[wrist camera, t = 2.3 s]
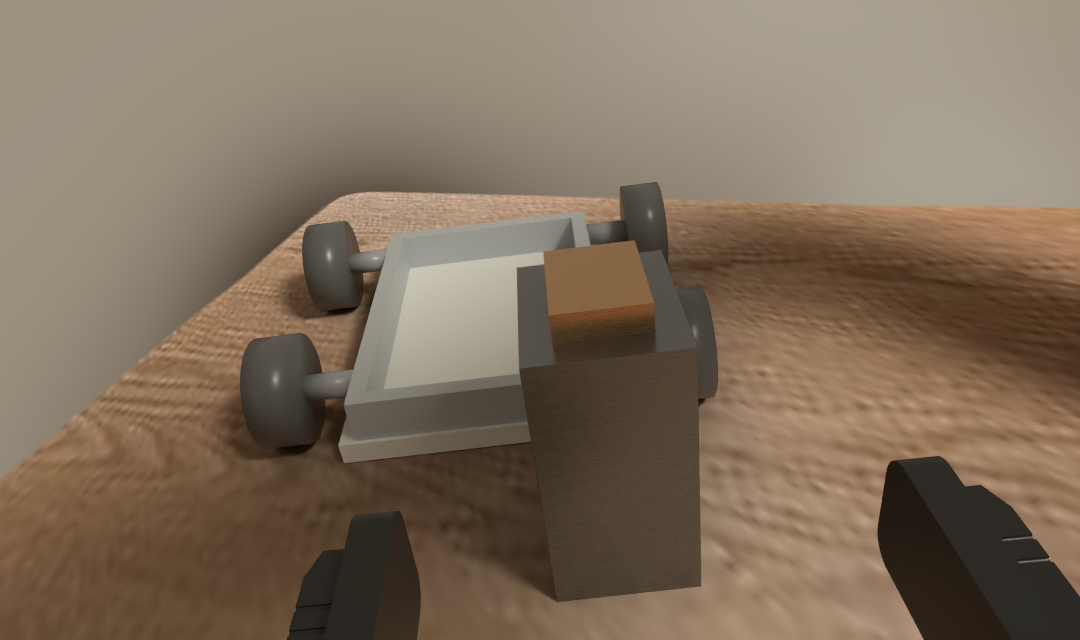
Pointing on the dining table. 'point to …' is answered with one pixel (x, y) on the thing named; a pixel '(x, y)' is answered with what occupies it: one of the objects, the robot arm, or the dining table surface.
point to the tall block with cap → (612, 419)
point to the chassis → (435, 333)
